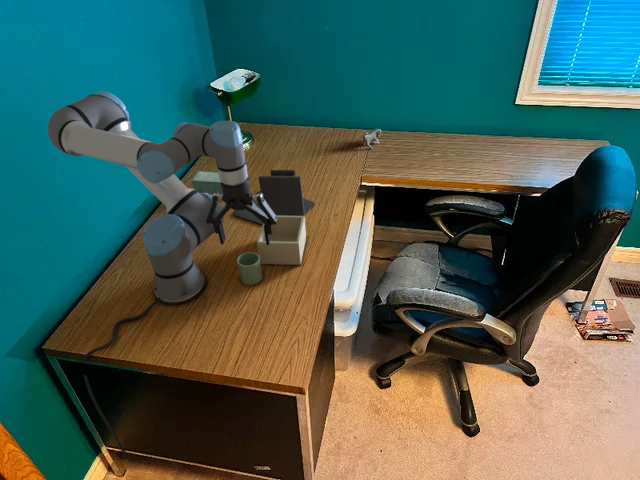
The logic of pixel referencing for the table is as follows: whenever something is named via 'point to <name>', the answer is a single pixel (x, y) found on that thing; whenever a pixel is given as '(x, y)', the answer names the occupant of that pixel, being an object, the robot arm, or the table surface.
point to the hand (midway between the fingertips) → (245, 241)
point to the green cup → (250, 268)
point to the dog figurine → (371, 137)
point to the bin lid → (283, 192)
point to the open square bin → (283, 241)
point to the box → (207, 183)
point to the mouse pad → (251, 217)
